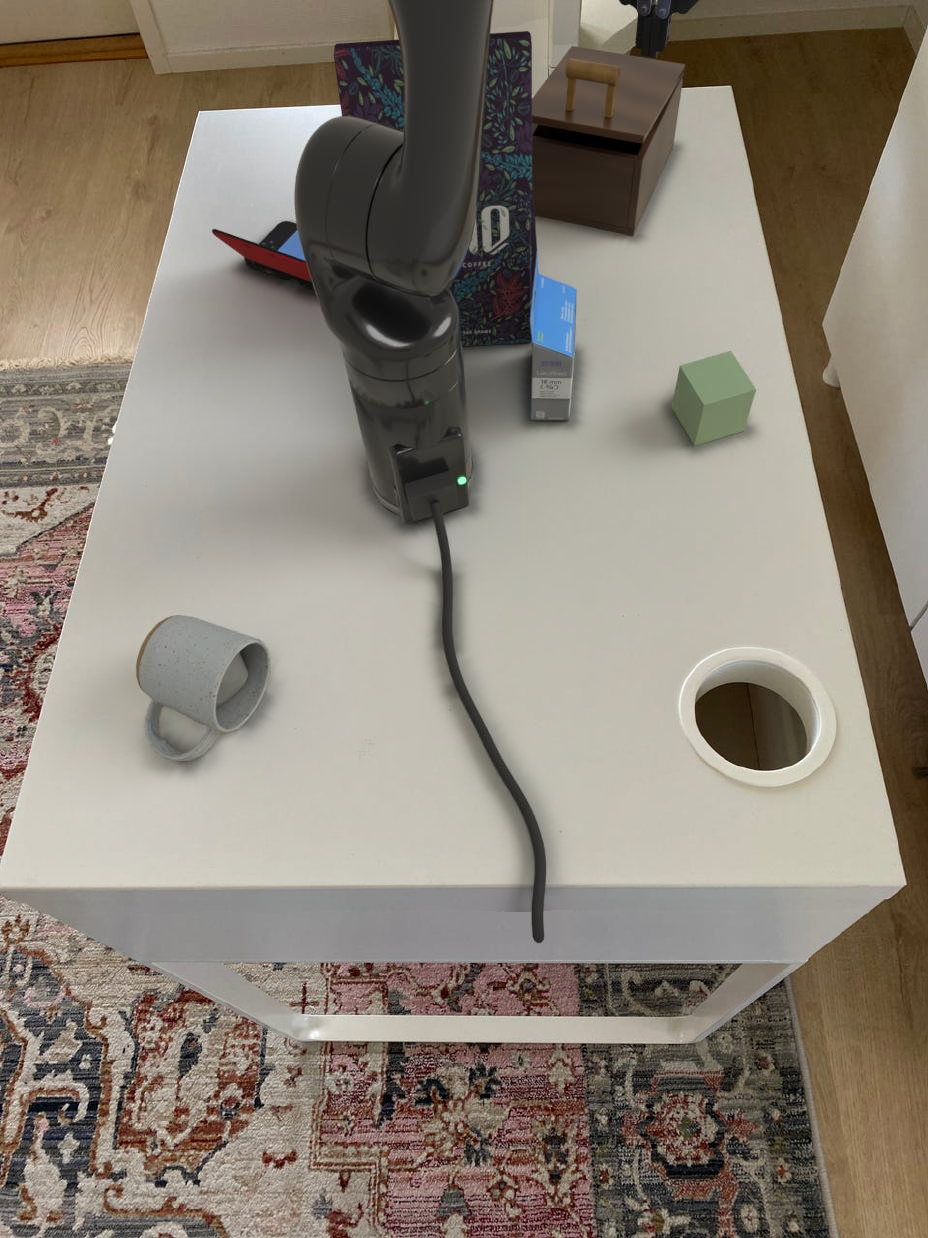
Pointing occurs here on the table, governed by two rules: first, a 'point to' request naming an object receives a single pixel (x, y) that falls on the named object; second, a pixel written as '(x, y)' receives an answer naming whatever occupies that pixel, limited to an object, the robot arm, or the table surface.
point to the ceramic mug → (200, 678)
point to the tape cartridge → (552, 347)
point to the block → (713, 398)
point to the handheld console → (273, 253)
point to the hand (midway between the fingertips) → (651, 52)
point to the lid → (605, 94)
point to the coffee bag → (505, 213)
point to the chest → (600, 172)
